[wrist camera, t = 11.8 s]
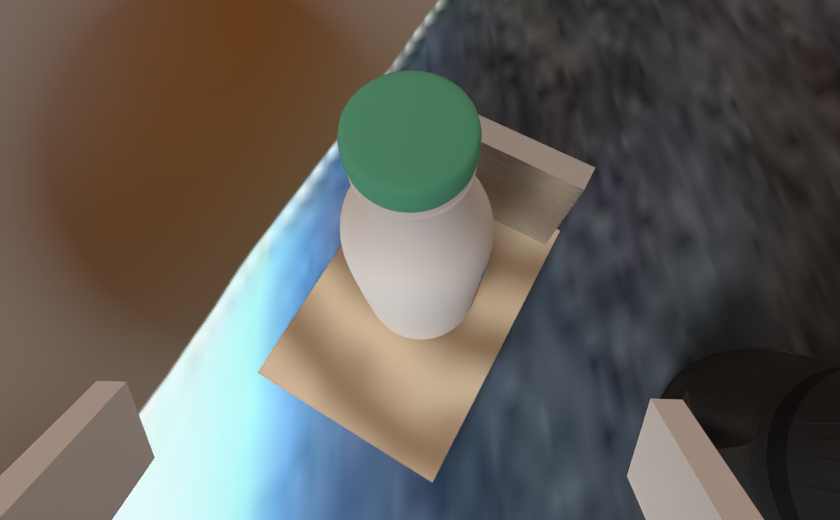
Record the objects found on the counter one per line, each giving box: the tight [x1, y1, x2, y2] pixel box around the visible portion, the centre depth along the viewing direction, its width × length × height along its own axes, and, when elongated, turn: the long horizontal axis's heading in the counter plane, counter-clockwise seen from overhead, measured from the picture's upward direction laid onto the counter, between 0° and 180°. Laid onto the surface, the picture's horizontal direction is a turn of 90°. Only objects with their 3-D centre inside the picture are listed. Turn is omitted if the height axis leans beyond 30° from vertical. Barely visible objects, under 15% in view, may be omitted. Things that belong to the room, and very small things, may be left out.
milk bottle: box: [338, 71, 494, 340], centre depth 23 cm, size 8×8×20 cm
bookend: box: [475, 115, 595, 245], centre depth 30 cm, size 2×13×9 cm, turn 60°
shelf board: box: [258, 219, 560, 483], centre depth 33 cm, size 20×14×2 cm
